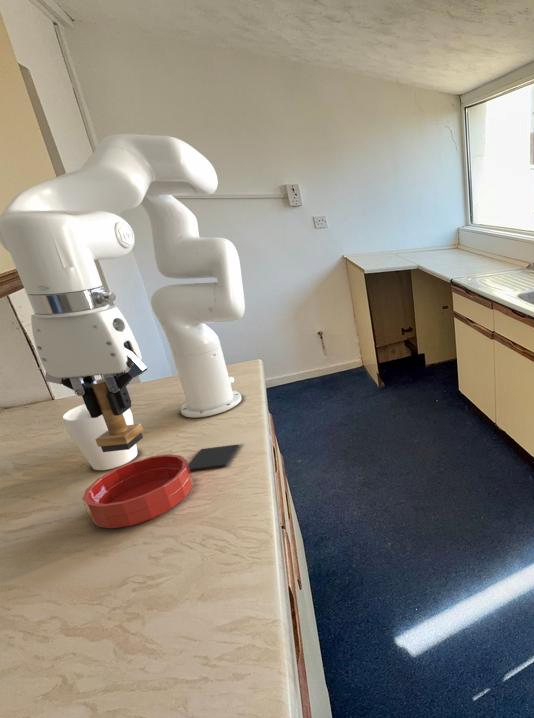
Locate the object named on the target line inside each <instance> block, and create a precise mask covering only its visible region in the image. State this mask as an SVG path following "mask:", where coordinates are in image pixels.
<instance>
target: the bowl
mask: <svg viewBox="0 0 534 718" xmlns="http://www.w3.org/2000/svg"><path fill="white" fill-rule="evenodd" d="M188 465H189V463H188V460H187V459H186V458H185V457H183V456H182V455H180V454H179V455H178V454H172V453H171V454H170V453H168V454H167V453H166V454H159V455H151V456H147V457H144V458H141V459H137V460H133V461H130V462H128V463H126V464H124V465H121V466H119V467H116V468H113V469H111V470H110V471H108V472H107V473H105V474H104V475H102V476H100V477H98V478H97V479H96V480H95V481H93V482H92V483H91V485H89V486H88V487H87V488H86V489H85V491H84V494H83V496H82V501H83V503H84V506H85V508H86V510H87V512H88V515H89V518H90V519H91V521H92V522H93V523H94V525H95V526H96V527H97V528H105V529H119V528H126V527H131V526H135V525H138V524H142V523H145V522H147V521H150V520H152V519H155V518H157V517H159V516H161V515H163V514H165V513H167V512H168V511H169V510H171V509H172V508H174V507H176V506H177V505H178V504H179V503H180V502H182V501H183V500H184V499H185V498H186V497H187V495H188V494H189V493H190V491H191V490H192V489H193V487H194V483H193V482H194V480H193V475H192V471H190V469H189V466H188Z"/></svg>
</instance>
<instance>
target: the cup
mask: <svg viewBox="0 0 534 718" xmlns="http://www.w3.org/2000/svg"><path fill="white" fill-rule="evenodd" d="M123 416H124V419H125V422H126V424H127V425H133V424H134V417H133V412H132V411H131V407H130V408H129V409H128V410H127V411H125V412H124V413H123ZM62 418H63V421H64V423H65V424H64V425H65V428H66V431H67V433H68V435H69V437H70V438H71V439H72V441H73V442H74V444H75V445H76V446H77V448H78V449H79V451H80V452H81V454H82V455H83V456H84V458H85V459H86V461H87V462H88V463H89V465H90V466H91V468H92V469H93V470H95V471H106V470H113V469H116V468H119V467H121V466H123V465H126V464H128V463H130V462H132V460H134V459H136V457H137V455H138V447H137V443H136V444H135V445H134V446H133V447H131V448H130V449H129V450H119V451H110V452H103V451H102V448H101V447H98V445H97V442H96V440H95V439H97V438H98V437H99V436H101V435H102V434H103V433H105V432H106V431H108V428H107V426H106V423H105V420H104V418H103V415H100V416H99V417H97V418H91V416H90V413H89V411H88V410H87V408H86V405H85V403H83V404H81V405H78V406H75V407H73V408H71V409H70V410H68V411H66V412H65V413H64V414H63V416H62Z"/></svg>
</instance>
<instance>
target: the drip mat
mask: <svg viewBox="0 0 534 718" xmlns="http://www.w3.org/2000/svg"><path fill="white" fill-rule="evenodd" d="M239 447H240V444H232V445H231V444H230V445H223V446H215V447H206V448H201V449H200V450H199V452H197V454H196V455H195V457H193V459H192V460H191V461H190V462H189V463H188V466H189V469H190V472H195V471H202V470H210V469H216V468H217V469H218V468H224V467H225V468H226V467H227V465H228V464H229V462H230V461H231V459H232V458H233V456H234V455H235V453H236V452H237V450H238V449H239Z"/></svg>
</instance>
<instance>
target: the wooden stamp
mask: <svg viewBox="0 0 534 718" xmlns="http://www.w3.org/2000/svg"><path fill="white" fill-rule="evenodd" d="M95 380H96V381H93V382H92V383H91V385H92V388H93V391H94V393H95V396H96V399H97V401H98V404H99V407H100V410H101V412H102V415H103V418H104V420H105V423H106V426H107V428H108V431H106V432H105V433H103V434H102V435H101V436H99V437H98V438H97V439H95V440H96V442H97V445H98V447H101V448H102V451H103V452H110V451H119V450H129V449H130V448H131V447H133V446H134V445H135V444H136V445H137V443H138V442H140V441H141V440H142V439H143V438H144V436H143V433H142V432H143V431H144V428H143V426H142V424H141V423H135V424H134V423H133V425H127V424H126V422H125V419H124V416H123V414H121V415H118V416H115V415H113V412H112V409H111V407H110V404H109V401H108V399H107V396H106V395H107V394H108V393H109V392H110V391H109V389H108V387H107V384H106V382H105V379H104V378H100V379H95Z"/></svg>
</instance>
